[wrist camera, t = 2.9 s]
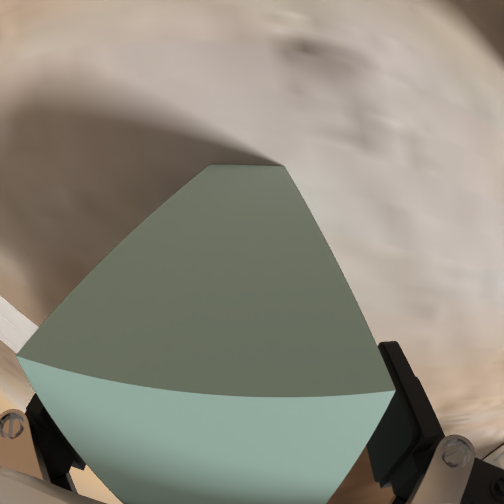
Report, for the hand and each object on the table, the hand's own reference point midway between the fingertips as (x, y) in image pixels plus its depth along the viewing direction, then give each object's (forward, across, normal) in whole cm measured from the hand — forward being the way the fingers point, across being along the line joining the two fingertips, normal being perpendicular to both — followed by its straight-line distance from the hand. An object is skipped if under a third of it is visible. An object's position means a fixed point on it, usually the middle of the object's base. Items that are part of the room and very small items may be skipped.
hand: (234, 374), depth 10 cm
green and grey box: (+5, 0, +2) cm, 5 cm away
